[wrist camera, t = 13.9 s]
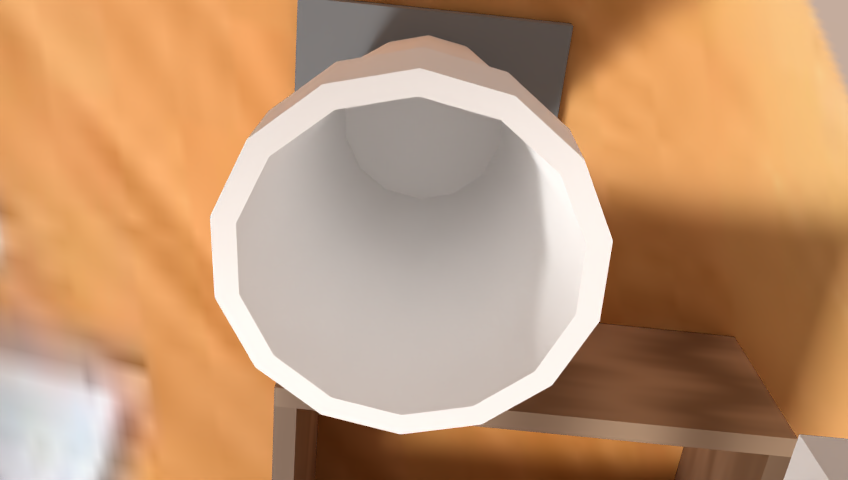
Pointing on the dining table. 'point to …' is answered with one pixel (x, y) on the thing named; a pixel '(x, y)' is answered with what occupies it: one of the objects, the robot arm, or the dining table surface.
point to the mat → (483, 34)
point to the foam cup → (411, 241)
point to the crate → (623, 406)
